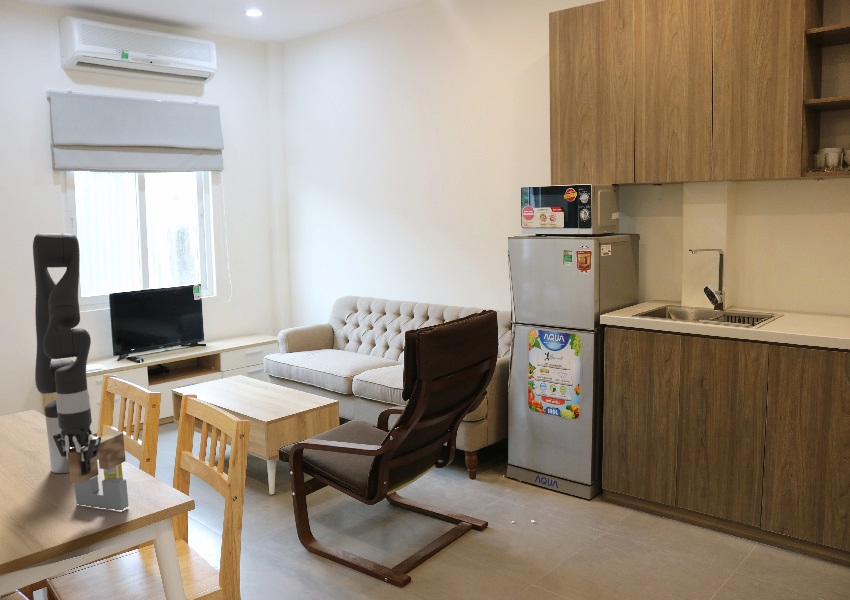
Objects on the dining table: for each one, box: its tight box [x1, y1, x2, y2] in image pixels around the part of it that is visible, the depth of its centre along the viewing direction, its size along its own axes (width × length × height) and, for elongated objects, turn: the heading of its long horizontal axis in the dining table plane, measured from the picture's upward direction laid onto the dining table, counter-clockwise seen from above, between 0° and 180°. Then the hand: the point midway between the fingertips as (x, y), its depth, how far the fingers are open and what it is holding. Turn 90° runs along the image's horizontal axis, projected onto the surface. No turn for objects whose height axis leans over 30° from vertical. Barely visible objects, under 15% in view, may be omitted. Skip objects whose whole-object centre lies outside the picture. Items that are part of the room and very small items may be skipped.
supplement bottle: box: [103, 463, 124, 480], centre depth 205 cm, size 5×5×8 cm
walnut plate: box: [67, 431, 127, 484], centre depth 188 cm, size 16×3×8 cm, turn 160°
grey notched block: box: [73, 475, 129, 510], centre depth 190 cm, size 15×2×8 cm, turn 71°
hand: (80, 473), depth 183 cm, fingers closed on walnut plate, 3 cm apart
